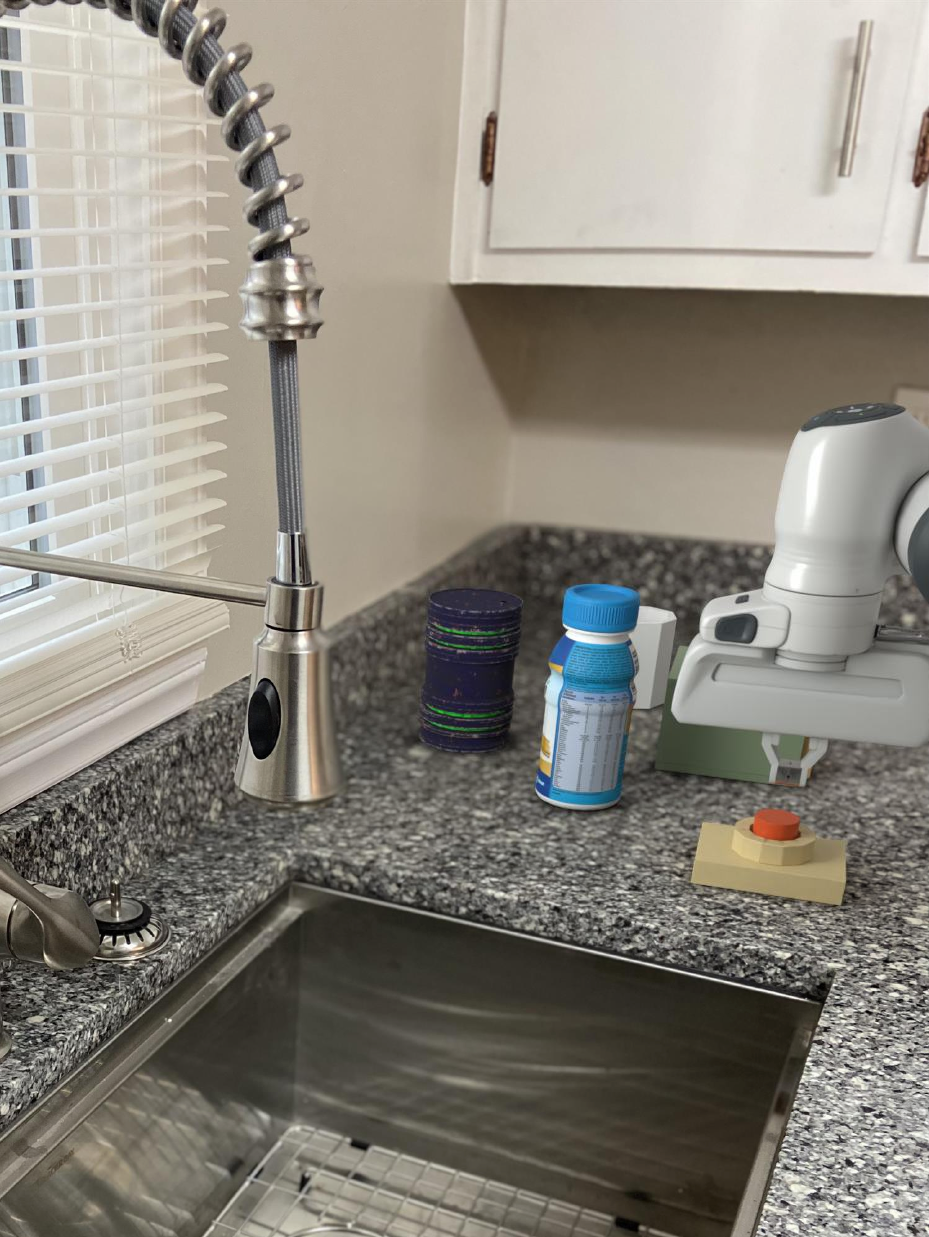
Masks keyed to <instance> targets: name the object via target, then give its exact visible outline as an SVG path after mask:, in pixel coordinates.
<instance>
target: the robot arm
mask: <svg viewBox="0 0 929 1237" xmlns="http://www.w3.org/2000/svg"><path fill="white" fill-rule="evenodd" d="M781 478H782V479H781V483H780V487H779V492H778V498H777V503H776V508H775V514H774V520H773V530H774V537H775V540H774V541H775V543H774V544H775V545H774V551H773V555H772V559H771V561H770V563H769V565H768V567H767V569H766V571H765V575H764V580H763V587H762V588H759V589H754V590H749V591H745V592H739V593H735V594H729V595H724V596H719V597H716V598H714V599H711V600H710V601H709V602H708V603H707V604H706V605H705V606H704V608H703V609H702V612H701V614H700V619H699V632H698V633H697V634H696V635H695V636H694V637H693V639H692V640H691V642H690V644H689V645H688V646H689V648H688V650H687V653H686V655H685V658H684V661H683V663H682V666H681V670H680V673H679V676H678V680H677V684H676V688H675V692H674V696H673V701H672V707H671V712H672V713H673V715H674V717H675V718H676V720H677V721H678V722H680V723H685V724H695V725H704V726H713V727H722V728H731V729H740V730H750V731H759V732H763V737H762V746H763V749H764V751H765V753H766V755H767V758H768V760H769V762H770V764H772V765H771V770H770V777H769V783H772V784H771V785H774V784H782V785H789V786H788V787H790V786H795V787H798V788H806V785H807V779H808V778H807V775H808V770H809V769H811V768H812V769H813V767H814V766H815V765H816V763H817V762H818V761H819V760H820V759H821V758H822V757H823V756H824V755H825V754H826V753H827V750H828V746H829V741H830V740H834V741H842V742H853V743H859V744H861V743H862V744H869V745H880V746H890V747H898V748H907V749H917V750H918V749H921V748H923V747H924V746H925V745H926V744H928V743H929V629H927V628H920V629H912V628H906V627H900V626H893V625H886V624H885V625H884V624H883V625H882V624H881V625H880V624H878V621H879V620H878V619H879V614H880V609H881V604H882V598H883V594H884V589H885V585H886V581H887V580H888V579H889V578H891V577H894V576H911V577H912V579H913V580H914V583H915V585H916V587H917V589H918V591H919V593H920V595H921V596H922V597H923V599H924V600H925V601H926V603H928V604H929V427H928V426H926V425H925V424H924V423H922V422H921V421H920V420H918V419H917V418H915V417H914V416H913V415H912V414H911V413H910V411H909V410H908V409H907V408H906V407H905V406H904V405H899V404H896V403H890V402H889V403H888V402H876V403H872V402H866V403H865V402H863V403H855V404H847V405H844V406H838V407H834V408H830V409H827V410H825V411H822V412H819V413H817V414H814V415H813V416H812V417H811V418H809V420H807V421H806V422H804V424H803V425H802V426H801V427H800V428H799V429H798V431H797V433H796V435H795V436H794V440H793V441H792V444H791V447H790V450H789V453H788V456H787V460H786V462H785V465H784V470H783V474H782V477H781ZM781 734H786V735H796V736H805V737H810V741H809V748H810V751H809V752H808V753H807V754H806V755H805V756H804V757H803V759H802V760H801V761H797V760H788V759H781V757H780V755H779V752H778V750H777V748H776V745H777V746H778V745H779V743H780V738H781ZM782 785H781V786H782Z"/></svg>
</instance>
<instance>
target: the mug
mask: <svg viewBox="0 0 929 1237" xmlns="http://www.w3.org/2000/svg"><path fill="white" fill-rule="evenodd" d="M677 620H678V618H677V617H676V615H675V613H674V611H671V610H667V609H662V608H658V607H655V606H650V605H649V606H648V605H647V606H646V605H640V606H639V614H638V620H637V625H636V627H635V630H634V631H633V632H632V633H630V634H628V636H629V637H630V639H631V641H632V643H633V645H634V647H635V650H636V652H637V656H638V661H639V671H638V673H637V675H636V676H635V678H634V684H635V687H636V690H637V697H636V703H635V705H634V707H633V710H640V709H641V710H650V709H653V708H655V707H657V706H661V705H664V701H665V694H666V688H667V681H668V677H669V674H670V669H671V668H670V667H671V661H672V660H671V659H672V655H673V654H672V653H673V648H674V641H675V640H674V639H675V633H676V627H677Z"/></svg>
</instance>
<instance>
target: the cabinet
mask: <svg viewBox="0 0 929 1237" xmlns="http://www.w3.org/2000/svg"><path fill="white" fill-rule="evenodd" d="M689 646H690V645H679V646H678V648H677V651H676V655H675V657H674V660H673V663H672V665H671V668H670V670H669V675H668V681H667V688H666V694H665V701H664V703H663V708H662V709H663V710H662V713H661V714H662V716H661V723H660V728H659V734H658V741H657V748H656V755H655V762H654V768H653V769H654V770H657V771H664V772H665V771H666V772H674V773H681V774H688V775H689V774H690V775H697V776H705V777H711V778H712V777H714V778H719V779H729V780H736V781H745V782H751V783H760V784H766V785H767V784H768V785H775V786H783V787H791V788H796V786H789V785H782V784H772V783H769V777H770V770H771V765H772V764H770V762H769V760H768V758H767V755H766V753H765V751H764V749H763V746H762V737H763V732H759V731H750V730H740V729H731V728H722V727H713V726H704V725H695V724H685V723H680V722H678V721H677V720H676V718H675V717H674V715H673V713H672V712H671V707H672V701H673V696H674V692H675V688H676V684H677V680H678V676H679V673H680V670H681V666H682V663H683V661H684V658H685V655H686V653H687V650H688V648H689ZM804 740H805V736H796V735H786V734H781V738H780V743H779V745H778V746H777V745H776V748H777V750H778V752H779V755H780V757H781V759H788V760H797V761H800V760H801V755H802V750H803V745H804Z"/></svg>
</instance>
